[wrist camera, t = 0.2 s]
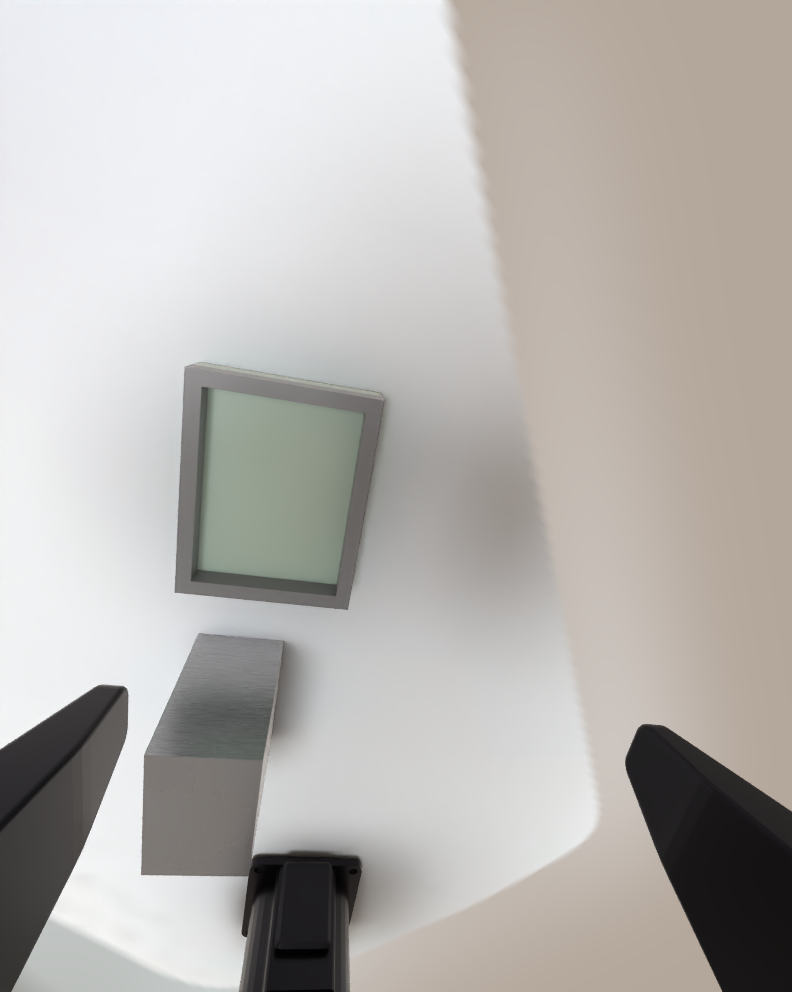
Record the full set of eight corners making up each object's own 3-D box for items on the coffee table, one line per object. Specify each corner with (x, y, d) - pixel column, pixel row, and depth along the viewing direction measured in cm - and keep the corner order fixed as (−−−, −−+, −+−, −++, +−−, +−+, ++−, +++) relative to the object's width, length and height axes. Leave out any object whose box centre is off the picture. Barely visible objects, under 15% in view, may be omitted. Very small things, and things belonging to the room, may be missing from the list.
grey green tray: (347, 586, 23) (347, 609, 22) (188, 569, 22) (174, 592, 20) (380, 392, 20) (384, 400, 19) (199, 362, 19) (184, 366, 17)
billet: (271, 736, 26) (248, 876, 19) (192, 731, 25) (141, 874, 19) (284, 640, 24) (263, 760, 18) (198, 633, 23) (144, 754, 17)
